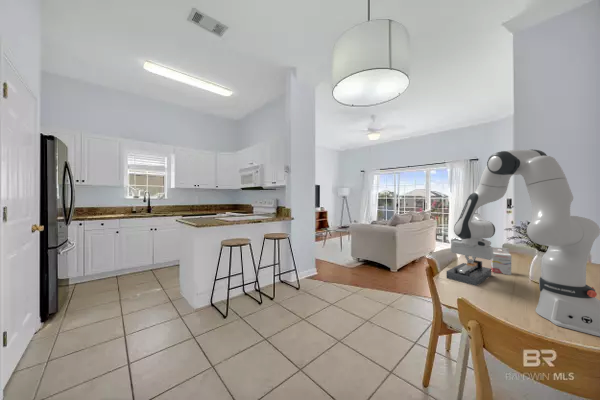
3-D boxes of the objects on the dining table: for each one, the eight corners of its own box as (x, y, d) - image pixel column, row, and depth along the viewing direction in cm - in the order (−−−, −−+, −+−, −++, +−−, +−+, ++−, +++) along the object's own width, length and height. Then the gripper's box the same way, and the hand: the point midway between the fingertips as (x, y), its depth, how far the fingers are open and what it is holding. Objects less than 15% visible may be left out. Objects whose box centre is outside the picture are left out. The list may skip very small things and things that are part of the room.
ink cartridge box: (492, 272, 133) (492, 248, 133) (491, 270, 138) (490, 246, 137) (511, 275, 129) (511, 250, 128) (509, 272, 133) (509, 248, 133)
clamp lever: (478, 266, 131) (478, 263, 131) (465, 274, 120) (465, 270, 120) (470, 265, 134) (470, 261, 134) (456, 272, 123) (456, 268, 123)
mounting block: (491, 275, 129) (491, 262, 129) (476, 285, 115) (476, 271, 115) (463, 269, 141) (463, 257, 140) (446, 278, 127) (446, 265, 127)
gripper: (448, 238, 137) (448, 260, 137) (490, 244, 120) (490, 269, 121) (452, 236, 140) (452, 258, 141) (494, 242, 124) (494, 266, 124)
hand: (470, 263), depth 131 cm, fingers closed, pressing on clamp lever
